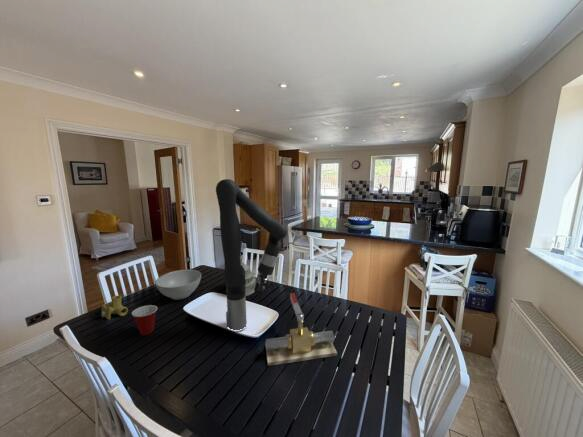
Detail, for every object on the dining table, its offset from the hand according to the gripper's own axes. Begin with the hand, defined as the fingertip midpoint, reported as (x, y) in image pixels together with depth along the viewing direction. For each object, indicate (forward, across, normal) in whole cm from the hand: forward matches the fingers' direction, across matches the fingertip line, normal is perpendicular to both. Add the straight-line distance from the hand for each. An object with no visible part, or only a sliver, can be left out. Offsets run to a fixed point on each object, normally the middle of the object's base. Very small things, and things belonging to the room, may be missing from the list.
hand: (256, 294), depth 113 cm
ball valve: (+43, -38, -65) cm, 87 cm away
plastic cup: (+36, -17, -43) cm, 59 cm away
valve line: (+13, +17, +22) cm, 31 cm away
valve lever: (0, +9, +18) cm, 20 cm away
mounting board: (+14, +16, +23) cm, 32 cm away
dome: (+16, -47, +1) cm, 50 cm away
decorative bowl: (+30, -51, -35) cm, 69 cm away
